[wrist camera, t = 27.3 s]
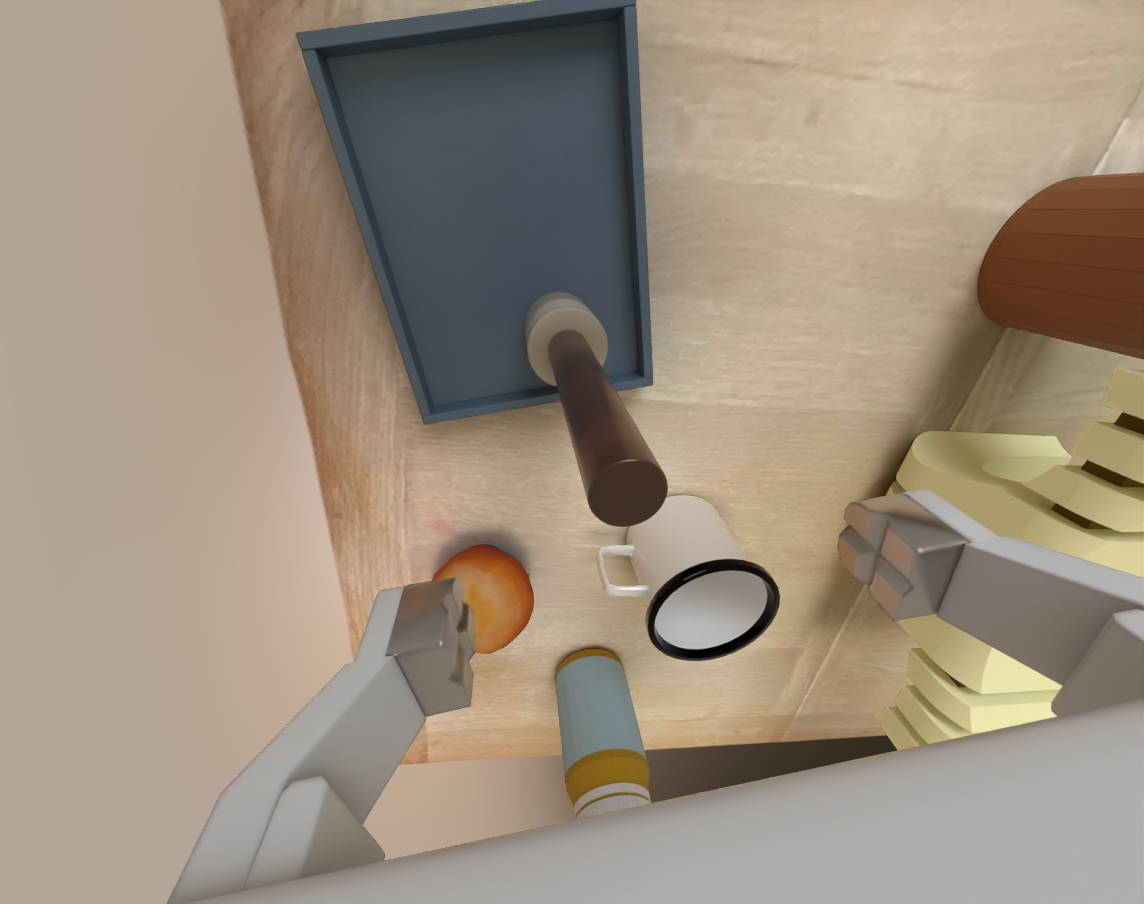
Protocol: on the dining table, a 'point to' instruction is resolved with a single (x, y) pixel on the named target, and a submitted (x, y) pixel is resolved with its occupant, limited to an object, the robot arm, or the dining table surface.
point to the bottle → (599, 735)
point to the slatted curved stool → (1033, 514)
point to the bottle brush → (594, 411)
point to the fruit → (492, 594)
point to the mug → (694, 582)
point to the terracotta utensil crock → (1073, 264)
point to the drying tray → (494, 186)
